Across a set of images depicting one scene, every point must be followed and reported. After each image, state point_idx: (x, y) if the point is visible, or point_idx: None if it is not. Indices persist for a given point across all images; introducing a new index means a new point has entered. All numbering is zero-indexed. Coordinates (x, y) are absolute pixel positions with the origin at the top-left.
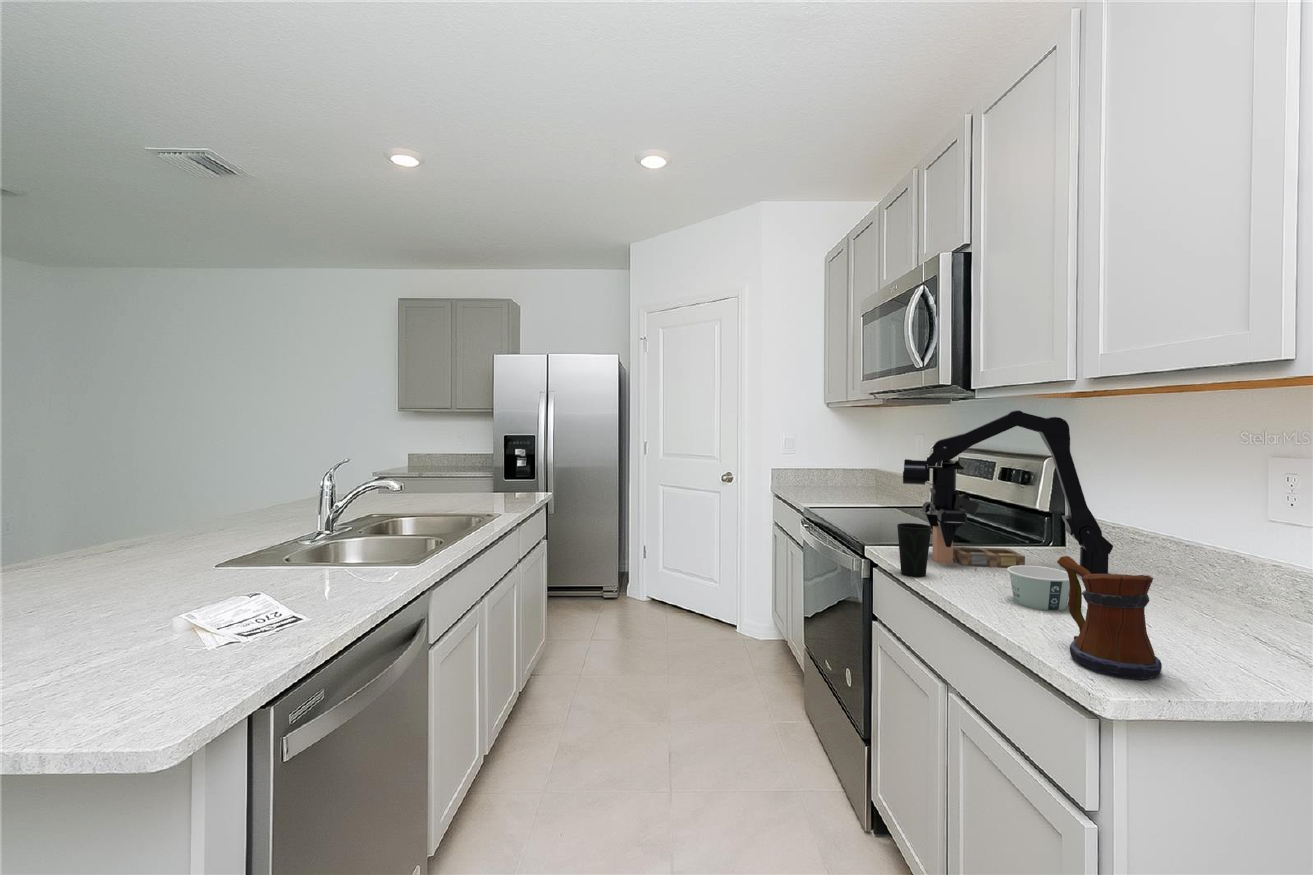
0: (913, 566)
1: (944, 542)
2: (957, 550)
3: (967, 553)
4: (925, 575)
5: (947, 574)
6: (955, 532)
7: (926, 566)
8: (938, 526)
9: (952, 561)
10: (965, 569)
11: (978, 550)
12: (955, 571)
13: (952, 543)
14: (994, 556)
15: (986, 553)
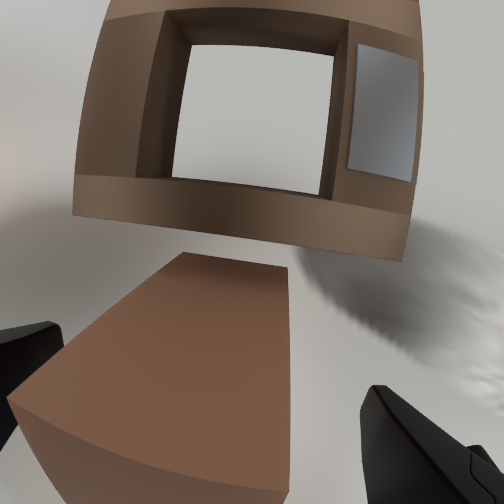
0: None
1: (364, 448)
2: (238, 231)
3: (374, 198)
4: (480, 446)
5: (495, 382)
6: (500, 472)
7: (495, 465)
8: (69, 495)
9: (287, 270)
10: (454, 267)
11: (166, 21)
12: (474, 337)
13: (287, 340)
14: (416, 19)
15: (356, 26)
